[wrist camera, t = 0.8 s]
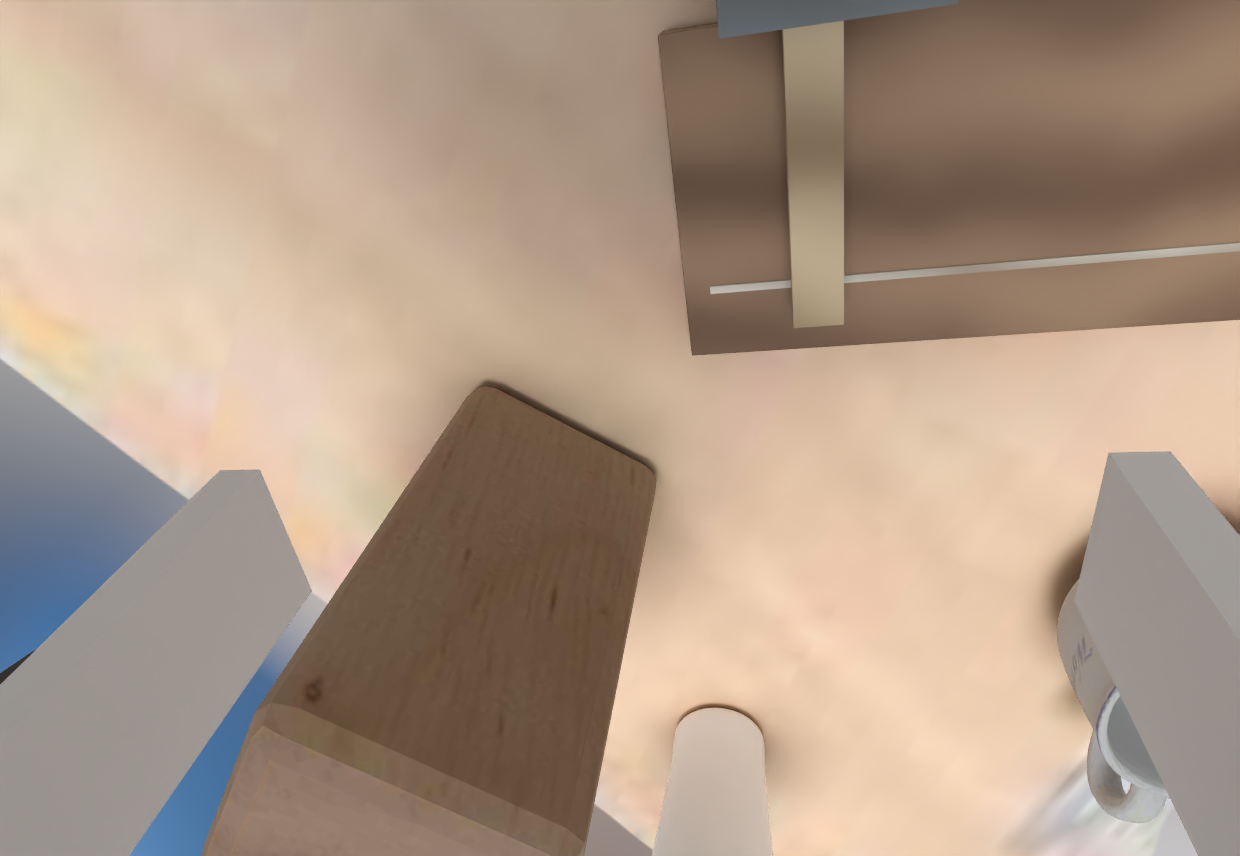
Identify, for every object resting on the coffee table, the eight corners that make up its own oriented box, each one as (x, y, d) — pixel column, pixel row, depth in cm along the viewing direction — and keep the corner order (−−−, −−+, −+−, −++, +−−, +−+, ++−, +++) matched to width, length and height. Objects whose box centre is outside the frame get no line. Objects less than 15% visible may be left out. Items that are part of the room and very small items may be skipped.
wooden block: (481, 370, 37) (241, 723, 20) (666, 467, 38) (591, 878, 21) (414, 513, 42) (179, 890, 25) (579, 594, 43) (463, 1007, 26)
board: (663, 30, 28) (657, 35, 26) (1379, -77, 24) (1429, -81, 22) (695, 335, 34) (691, 356, 32) (1273, 295, 30) (1306, 316, 28)
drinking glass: (687, 775, 49) (663, 1057, 37) (646, 704, 47) (604, 982, 34) (791, 760, 47) (803, 1054, 35) (754, 685, 44) (753, 975, 32)
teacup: (1153, 456, 34) (1253, 581, 27) (1356, 559, 35) (1501, 704, 28) (950, 649, 41) (988, 786, 34) (1123, 730, 42) (1193, 877, 35)
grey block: (721, -164, 25) (697, -251, 15) (884, -196, 24) (977, -313, 14) (750, 292, 33) (747, 441, 22) (875, 282, 32) (931, 433, 21)
